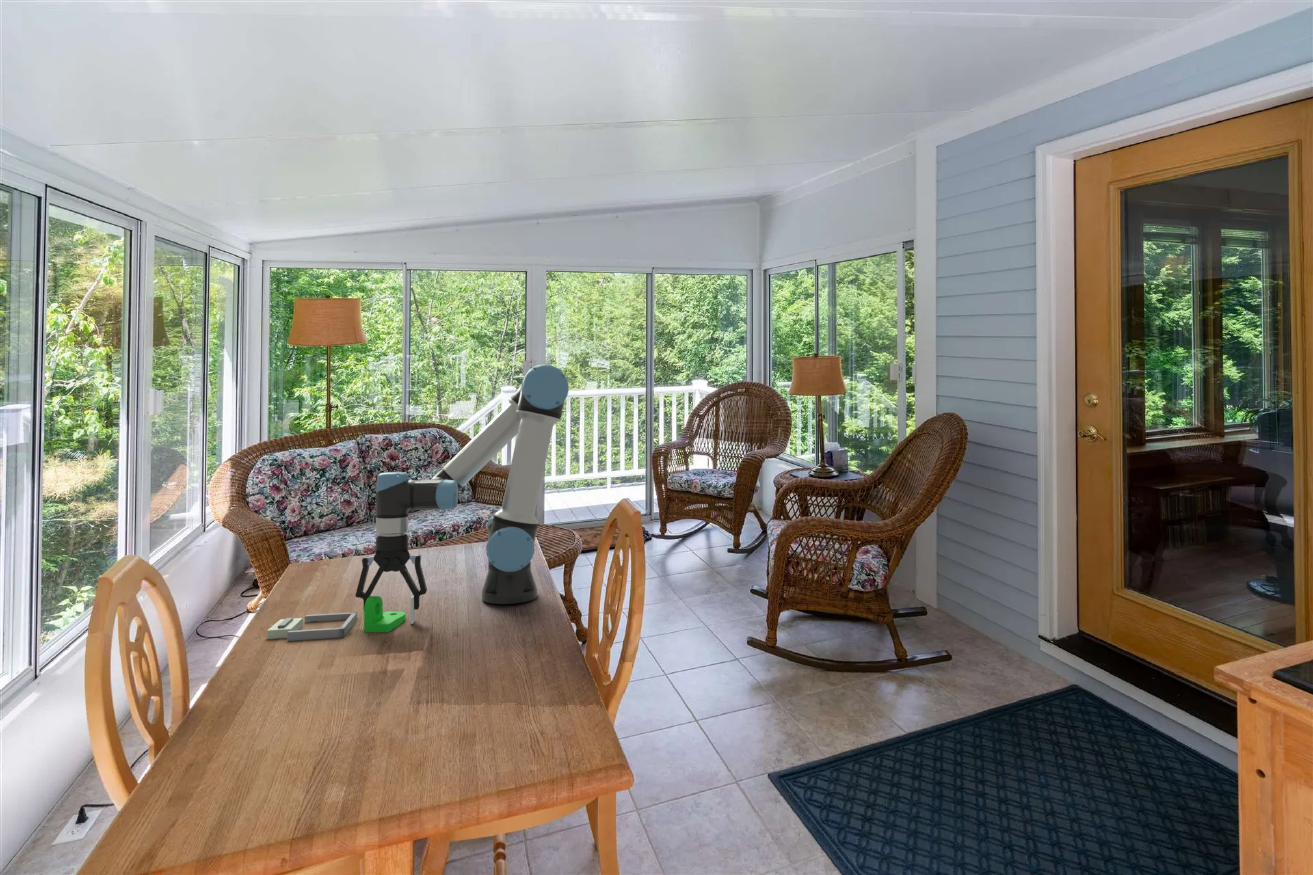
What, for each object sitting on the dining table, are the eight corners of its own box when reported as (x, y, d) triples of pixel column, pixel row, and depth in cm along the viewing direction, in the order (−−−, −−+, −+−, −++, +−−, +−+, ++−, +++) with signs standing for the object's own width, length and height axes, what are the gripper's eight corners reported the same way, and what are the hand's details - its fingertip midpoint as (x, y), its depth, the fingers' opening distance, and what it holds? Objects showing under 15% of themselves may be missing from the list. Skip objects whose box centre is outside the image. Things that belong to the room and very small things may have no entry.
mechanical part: (388, 632, 160) (388, 599, 160) (364, 632, 160) (364, 598, 160) (409, 619, 172) (409, 588, 172) (386, 618, 172) (386, 588, 172)
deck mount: (356, 619, 171) (356, 609, 171) (343, 637, 156) (343, 626, 156) (283, 624, 167) (283, 614, 167) (263, 642, 152) (263, 631, 152)
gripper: (439, 530, 173) (438, 617, 173) (348, 533, 168) (347, 622, 167) (436, 534, 166) (436, 624, 165) (341, 537, 160) (341, 630, 160)
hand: (391, 623), depth 166 cm, fingers open, 9 cm apart
